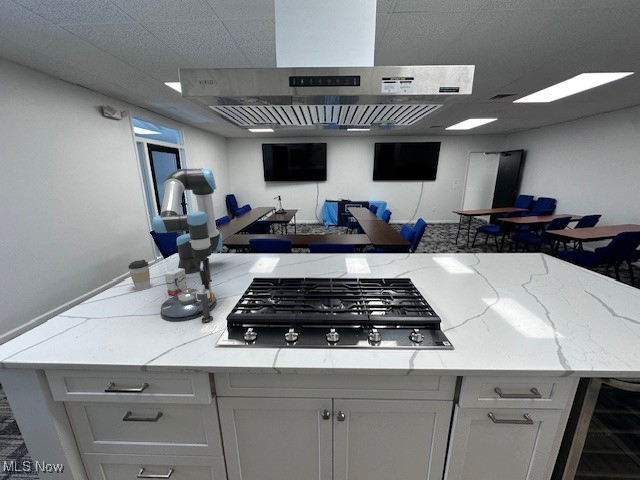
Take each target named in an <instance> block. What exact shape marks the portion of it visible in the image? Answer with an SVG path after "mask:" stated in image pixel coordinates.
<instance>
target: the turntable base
mask: <svg viewBox="0 0 640 480" xmlns="http://www.w3.org/2000/svg"><path fill="white" fill-rule="evenodd" d="M217 301H218V300H217V298H216V297H215V303H214V305H213V306H212V307H211V308H209V310H210V312H211V311H213V310H214V309H215V308H216V307H217V304H218V302H217ZM160 317H161V319H162V320H164V321H166V322H170V323H171V322H173V323H175V322H177V323H178V322H186V321H187V322H188V321H191V320H195V319H197V318H200V317H204V316H203V312H202V313H200V314H197V315H194V316H190V317H185V318H168V317H165V316H164V315H163V314H162V312H161V311H160Z"/></svg>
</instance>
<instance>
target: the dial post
mask: <svg viewBox="0 0 640 480" xmlns="http://www.w3.org/2000/svg"><path fill="white" fill-rule="evenodd" d="M197 291H198V292H196V298H197V301H201V302H202V309H203V316H202V318H201V323H203V324H208V323H211V322H213V321H214V316H213V315H211V311H210V310H209V303H208V298H210V294H209V289H204V288H200V289H199V290H197Z"/></svg>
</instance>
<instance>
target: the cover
mask: <svg viewBox="0 0 640 480" xmlns="http://www.w3.org/2000/svg"><path fill="white" fill-rule="evenodd" d="M187 288H188V287H187ZM198 291H199V290H198V289H196V288H188V289H185V290H184V291H182V292H180V293H179V294H178V298H179V304H180V305H190V304H193V303H195V302H197V298H196V292H198Z"/></svg>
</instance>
